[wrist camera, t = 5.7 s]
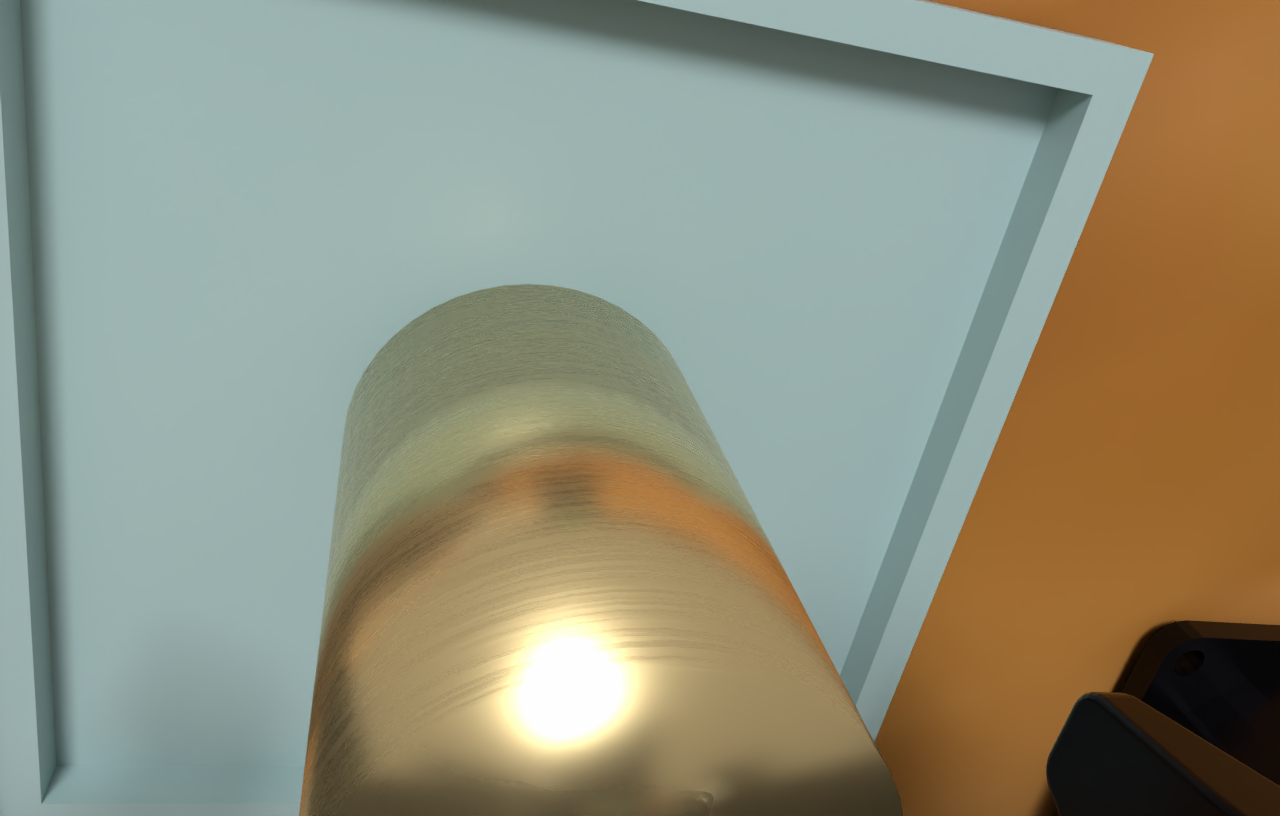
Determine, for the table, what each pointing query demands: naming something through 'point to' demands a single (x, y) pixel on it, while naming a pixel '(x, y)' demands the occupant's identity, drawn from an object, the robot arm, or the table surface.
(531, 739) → the cylinder
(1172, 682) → the robot arm
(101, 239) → the light blue square tray
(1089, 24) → the table surface
